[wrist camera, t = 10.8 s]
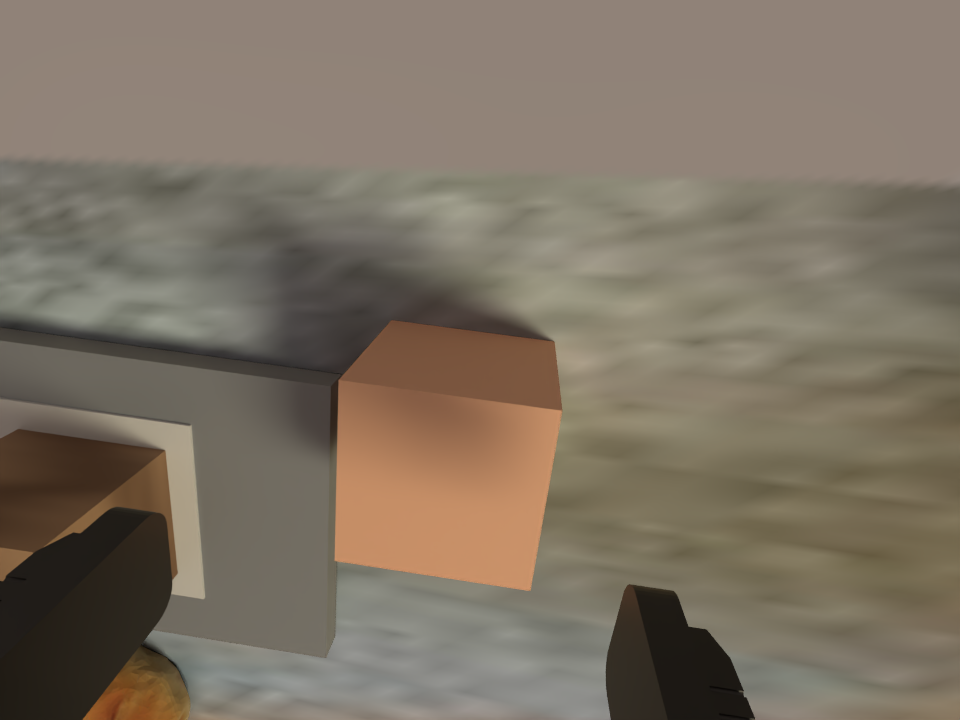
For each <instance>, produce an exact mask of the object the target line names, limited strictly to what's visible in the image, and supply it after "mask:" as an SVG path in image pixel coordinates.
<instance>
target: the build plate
mask: <svg viewBox="0 0 960 720" xmlns="http://www.w3.org/2000/svg"><path fill="white" fill-rule="evenodd" d="M340 378H341V374H335V373H328V372H320V371H313V370H306V369H298V368H291V367H284V366H277V365H269V364H262V363H255V362H248V361H240V360H233V359H226V358H219V357H211V356H204V355H197V354H189V353H182V352H175V351H168V350H160V349H153V348H146V347H139V346H131V345H124V344H117V343H109V342H102V341H95V340H88V339H80V338H73V337H66V336H59V335H51V334H44V333H37V332H30V331H22V330H15V329H8V328H0V438H2V437H4V436H6V435H8V434H10V433H12V432H14V431H15V430H17V429H22V430H29V431H36V432H43V433H50V434H57V435H64V436H70V437H77V438H84V439H91V440H98V441H105V442H112V443H118V444H125V445H132V446H139V447H146V448H153V449H160V450H165V451H166V461H167V471H168V481H169V491H170V501H171V510H172V520H173V530H174V540H175V550H176V560H177V570H178V574H177V575H176V576H175V578H174V579H173V580H172V592H171V596H170V600H169V603H168V606H167V608H166V610H165V612H164V614H163V616H162V618H161V619H160V621H159V622H158V623H157V625H156V626H155V627H154V629H153V630H156V631H162V632H169V633H175V634H181V635H187V636H193V637H199V638H205V639H212V640H218V641H224V642H230V643H236V644H242V645H249V646H255V647H261V648H267V649H273V650H279V651H286V652H292V653H298V654H304V655H310V656H316V657H323V658H326V657H327V655H328V652H329V650H330V647H331V645H332V643H333V640H334V638H335V619H336V577H337V561H335V521H336V476H337V431H338V386H339V379H340Z"/></svg>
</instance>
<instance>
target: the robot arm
mask: <svg viewBox="0 0 960 720" xmlns="http://www.w3.org/2000/svg"><path fill="white" fill-rule="evenodd" d="M171 592H172V571H171V560H170V550H169V539H168V528H167V521H166V518H165V516H164V515H163V514H161V513H158V512H151V511H144V510H138V509H131V508H124V507H113V508H111V509H109V510H108V511H106V512H105V513H104V514H102V515H101V516H100V517H99V518H98V519H97V520H95V521H94V522H93V523H92V524H91V525H90V526H88V527H87V528H86V529H85V530H84V531H83V532H81V533H74V532H73V533H71V534H69V535H67V536H65V537H63V538H61V539H59V540H57V541H55V542H53V543H51V544H49V545H47V546H45V547H43V548H41V549H39V550H37V551H35V552H34V553H33V554H32V555H31V556H29V557H28V558H27V559H26V560H24V561H23V562H22V563H21V564H19V565H18V566H17V567H16V568H15V569H13V570H12V571H11V572H10V573H8V574H7V575H6V578H5V580H4V581H0V720H83V718H84V717H85V716H86V714H87V713H88V712H89V711H90V709H91V708H92V707H93V705H94V704H95V703H96V702H97V700H98V699H99V698H100V697H101V695H102V694H103V693H104V691H105V690H106V689H107V688H108V686H109V685H110V684H111V682H112V681H113V680H114V679H115V677H116V676H117V675H118V673H119V672H120V671H121V670H122V668H123V667H124V666H125V664H126V663H127V662H128V661H129V659H130V658H131V657H132V655H133V654H134V653H135V652H136V650H137V649H138V648H139V647H140V645H141V644H142V643H143V641H144V640H145V639H146V638H147V636H148V635H149V634H150V632H151V631H152V630H153V629H154V627H155V626H156V625H157V623H158V622H159V621H160V619H161V618H162V616H163V614H164V612H165V610H166V608H167V606H168V603H169V600H170V596H171ZM606 690H607V697H608V704H609V710H610V717H611V720H755V717H754V715H753V712H752V710H751V708H750V705H749V703H748V700H747V698H746V697H744V695H743V692H744V690H743V688H742V686H741V683H740V681H739V678H738V676H737V673H736V671H735V669H734V666H733V664H732V661H731V659H730V657H729V656H728V655H727V654H726V653H725V651H724V650H723V649H722V648H721V647H720V645H719V644H718V643H717V642H716V640H715V639H714V638H713V637H712V636H711V634H710V633H709V632H708V631H707V630H706V629H700V628H693V627H688V624H687V621H686V618H685V616H684V613H683V610H682V607H681V604H680V601H679V599H678V596H677V595H676V593H675V592H674V591H671V590H664V589H657V588H650V587H644V586H637V585H628V586H627V587H626V589H625V591H624V594H623V598H622V601H621V605H620V609H619V612H618V616H617V620H616V623H615V627H614V631H613V635H612V638H611V642H610V646H609V650H608V654H607V662H606Z"/></svg>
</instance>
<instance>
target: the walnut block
mask: <svg viewBox="0 0 960 720" xmlns="http://www.w3.org/2000/svg"><path fill="white" fill-rule="evenodd" d="M113 507H124V508H131V509H138V510H144V511H151V512H158V513H161V514H163V515H164V516H165V518H166V521H167V528H168V539H169V550H170V560H171V571H172V580H173V579H174V578H175V576H176V575H177V574H178V570H177V560H176V550H175V540H174V530H173V520H172V510H171V501H170V491H169V481H168V471H167V461H166V451H165V450H160V449H153V448H146V447H139V446H132V445H125V444H118V443H112V442H105V441H98V440H91V439H84V438H77V437H70V436H64V435H57V434H50V433H43V432H36V431H29V430H22V429H17V430H15V431H14V432H12V433H10V434H8V435H6V436H4V437H2V438H0V581H4V580H5V578H6V575H7V574H8V573H10V572H11V571H12V570H13V569H15V568H16V567H17V566H18V565H19V564H21V563H22V562H23V561H24V560H26V559H27V558H28V557H29V556H31V555H32V554H33V553H34V552H35V551H37V550H39V549H41V548H43V547H45V546H47V545H49V544H51V543H53V542H55V541H57V540H59V539H61V538H63V537H65V536H67V535H69V534H71V533H73V532H74V533H81V532H83V531H84V530H85V529H86V528H87V527H88V526H90V525H91V524H92V523H93V522H94V521H95V520H97V519H98V518H99V517H100V516H101V515H102V514H104V513H105V512H106V511H108V510H109V509H111V508H113Z"/></svg>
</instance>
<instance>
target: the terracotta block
mask: <svg viewBox="0 0 960 720" xmlns="http://www.w3.org/2000/svg"><path fill="white" fill-rule="evenodd" d="M561 415H562V404H561V395H560V386H559V378H558V369H557V360H556V351H555V342H554V341H546V340H538V339H531V338H523V337H516V336H508V335H501V334H493V333H485V332H478V331H470V330H463V329H455V328H448V327H440V326H432V325H425V324H417V323H410V322H402V321H395V320H391V321H390V322H389V323H388V325H387V326H386V327H385V328H384V329H383V330H382V331H381V332H380V334H379V335H378V336H377V337H376V338H375V339H374V340H373V342H372V343H371V344H370V345H369V346H368V347H367V348H366V349H365V351H364V352H363V353H362V354H361V355H360V356H359V357H358V359H357V360H356V361H355V362H354V363H353V364H352V365H351V367H350V368H349V369H348V370H347V371H346V372H345V373H344V374H343V376H342V377H341V378H340V379H339V386H338V431H337V476H336V521H335V561H339V562H345V563H352V564H358V565H365V566H371V567H378V568H384V569H391V570H397V571H404V572H410V573H417V574H423V575H430V576H437V577H443V578H450V579H456V580H463V581H469V582H476V583H482V584H489V585H495V586H502V587H508V588H515V589H521V590H528V591H530V590H531V584H532V578H533V573H534V567H535V561H536V556H537V550H538V545H539V539H540V533H541V528H542V522H543V516H544V511H545V505H546V500H547V494H548V488H549V483H550V477H551V471H552V466H553V460H554V455H555V449H556V443H557V438H558V432H559V426H560V421H561Z"/></svg>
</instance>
